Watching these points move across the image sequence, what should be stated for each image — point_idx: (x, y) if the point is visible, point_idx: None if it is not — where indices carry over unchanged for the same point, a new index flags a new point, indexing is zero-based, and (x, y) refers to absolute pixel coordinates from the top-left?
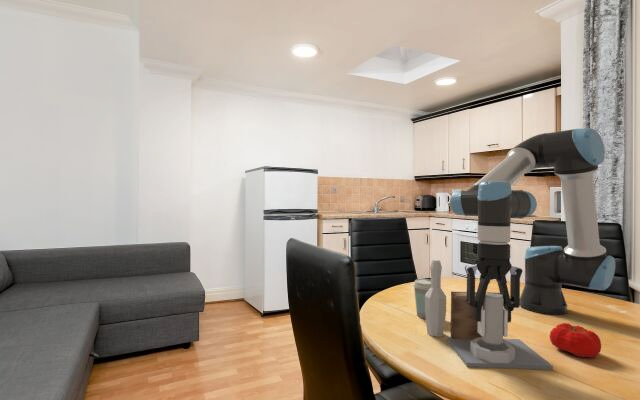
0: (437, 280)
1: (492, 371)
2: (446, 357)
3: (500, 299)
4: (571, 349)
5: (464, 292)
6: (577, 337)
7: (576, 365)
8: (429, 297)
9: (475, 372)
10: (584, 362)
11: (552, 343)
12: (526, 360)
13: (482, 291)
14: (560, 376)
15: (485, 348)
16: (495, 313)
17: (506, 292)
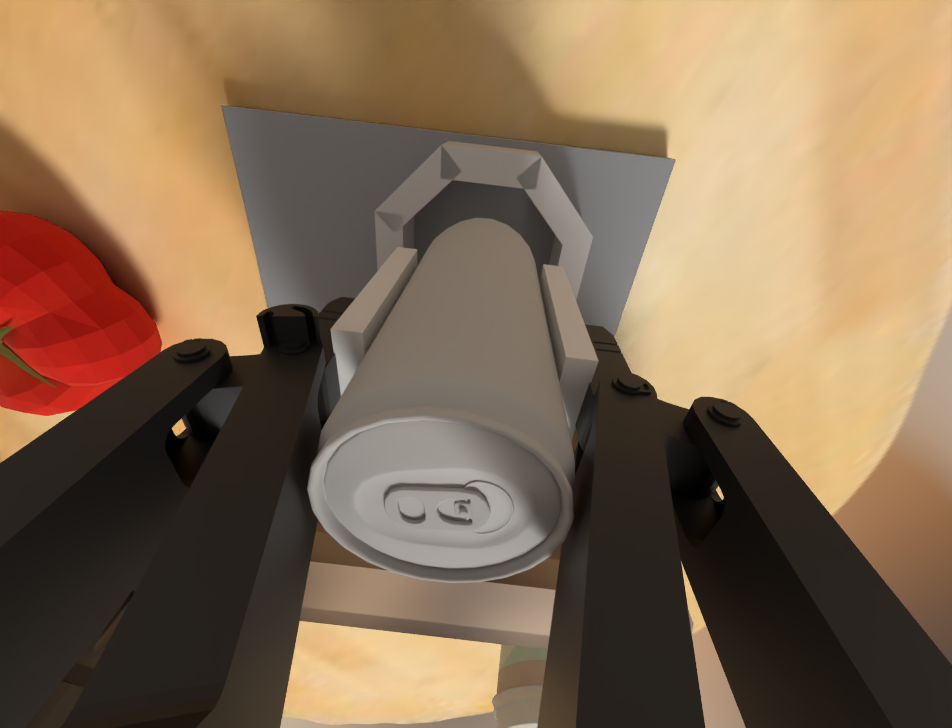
0: None
1: (562, 95)
2: (695, 268)
3: (390, 388)
4: (79, 252)
5: (527, 639)
6: None
7: (106, 158)
8: (691, 628)
9: (665, 83)
10: (64, 190)
11: (158, 339)
12: (338, 177)
13: (661, 557)
14: (218, 16)
15: (547, 219)
16: (483, 296)
17: (224, 499)
